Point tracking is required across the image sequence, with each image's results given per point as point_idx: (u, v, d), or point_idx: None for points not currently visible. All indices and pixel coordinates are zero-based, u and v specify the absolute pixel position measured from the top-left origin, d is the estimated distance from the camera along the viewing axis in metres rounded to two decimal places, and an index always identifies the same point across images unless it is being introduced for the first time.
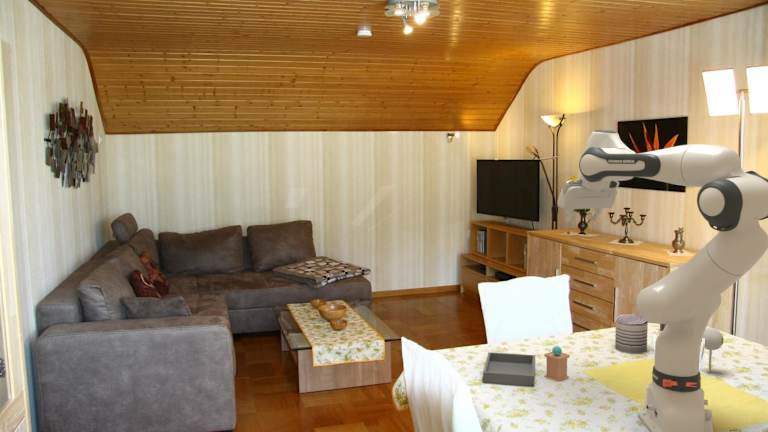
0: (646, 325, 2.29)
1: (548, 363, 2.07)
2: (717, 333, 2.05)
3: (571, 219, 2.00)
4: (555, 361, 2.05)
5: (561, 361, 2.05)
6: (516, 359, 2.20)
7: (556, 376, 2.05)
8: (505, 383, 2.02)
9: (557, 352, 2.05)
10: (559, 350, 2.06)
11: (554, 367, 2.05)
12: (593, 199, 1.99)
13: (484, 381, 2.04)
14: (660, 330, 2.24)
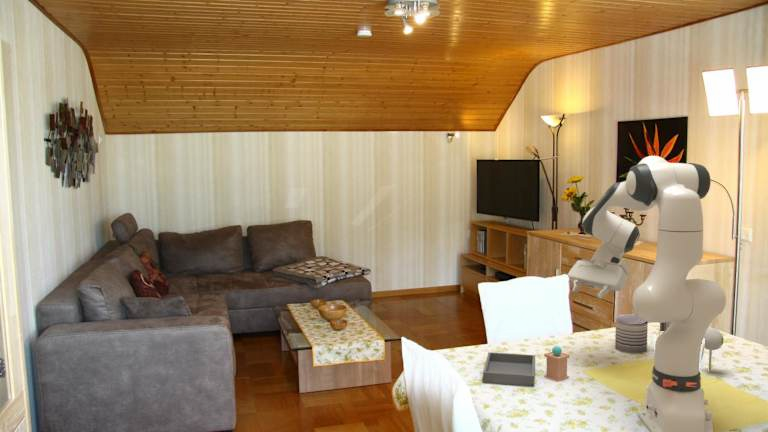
0: (646, 325, 2.29)
1: (548, 363, 2.07)
2: (717, 333, 2.05)
3: (574, 288, 2.17)
4: (555, 361, 2.05)
5: (561, 361, 2.05)
6: (516, 359, 2.20)
7: (556, 376, 2.05)
8: (505, 383, 2.02)
9: (557, 352, 2.05)
10: (559, 350, 2.06)
11: (554, 367, 2.05)
12: (597, 273, 2.14)
13: (484, 381, 2.04)
14: (660, 330, 2.24)
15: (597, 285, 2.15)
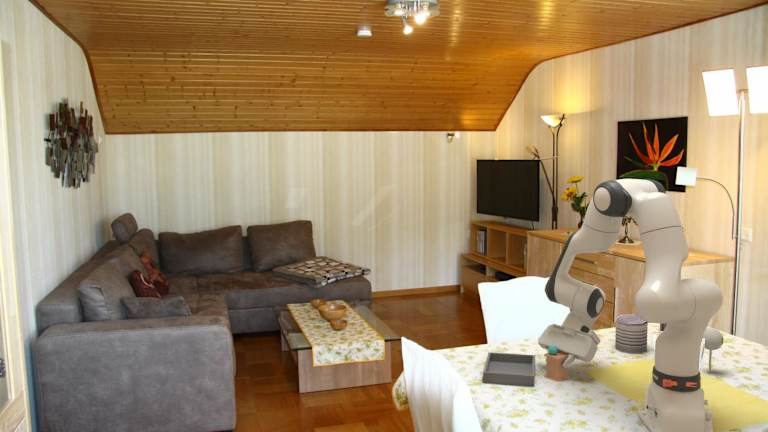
0: (646, 325, 2.29)
1: (548, 363, 2.07)
2: (717, 333, 2.05)
3: None
4: (555, 361, 2.05)
5: (561, 361, 2.05)
6: (516, 359, 2.20)
7: (556, 376, 2.05)
8: (505, 383, 2.02)
9: (552, 349, 2.06)
10: (553, 346, 2.07)
11: (554, 367, 2.05)
12: (567, 342, 2.08)
13: (484, 381, 2.04)
14: (660, 330, 2.24)
15: None
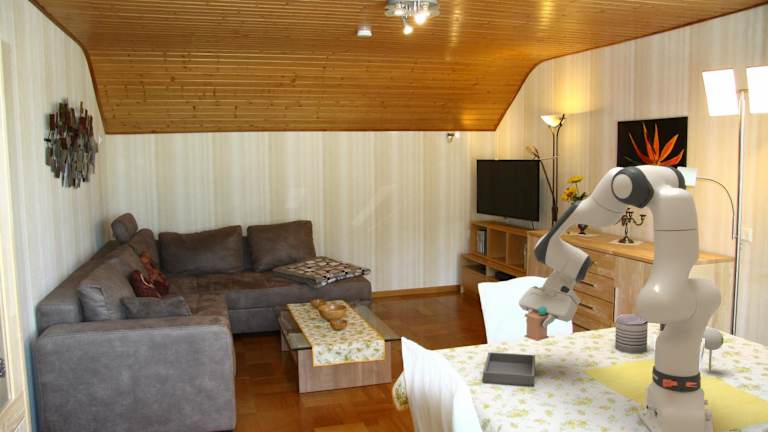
0: (646, 325, 2.29)
1: (528, 323, 2.08)
2: (717, 333, 2.05)
3: None
4: (535, 321, 2.05)
5: (541, 321, 2.05)
6: (516, 359, 2.20)
7: (536, 336, 2.05)
8: (505, 383, 2.02)
9: (544, 313, 2.06)
10: (546, 313, 2.06)
11: (534, 327, 2.06)
12: (547, 302, 2.08)
13: (484, 381, 2.04)
14: (660, 330, 2.24)
15: None
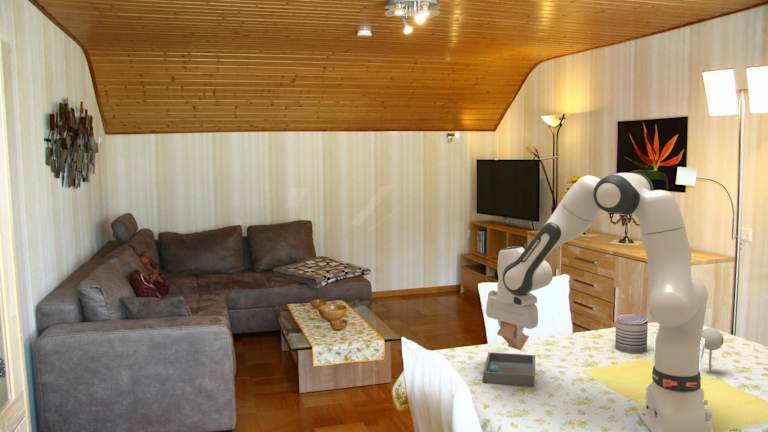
0: (646, 325, 2.29)
1: (504, 338, 2.11)
2: (717, 333, 2.05)
3: None
4: (508, 337, 2.08)
5: (513, 334, 2.08)
6: (516, 359, 2.20)
7: (517, 346, 2.10)
8: (505, 383, 2.02)
9: None
10: None
11: (511, 341, 2.09)
12: (509, 313, 2.07)
13: (484, 381, 2.04)
14: None
15: None
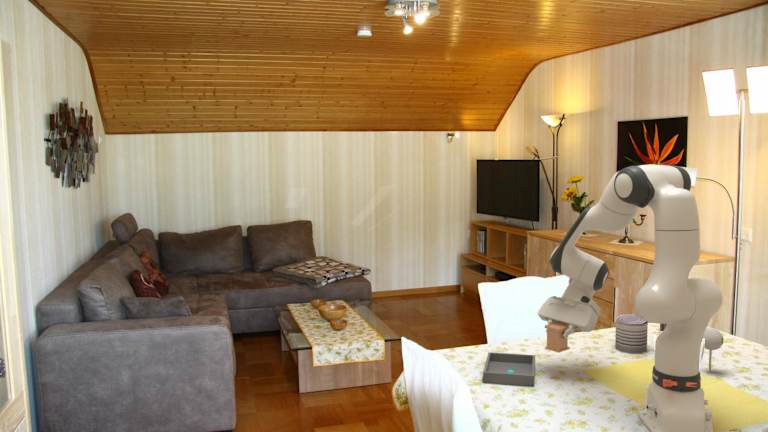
0: (646, 325, 2.29)
1: (548, 334, 2.06)
2: (717, 333, 2.05)
3: None
4: (555, 332, 2.04)
5: (561, 332, 2.04)
6: (516, 359, 2.20)
7: (557, 347, 2.04)
8: (505, 383, 2.02)
9: None
10: None
11: (554, 339, 2.04)
12: (567, 312, 2.07)
13: (484, 381, 2.04)
14: (660, 330, 2.24)
15: None
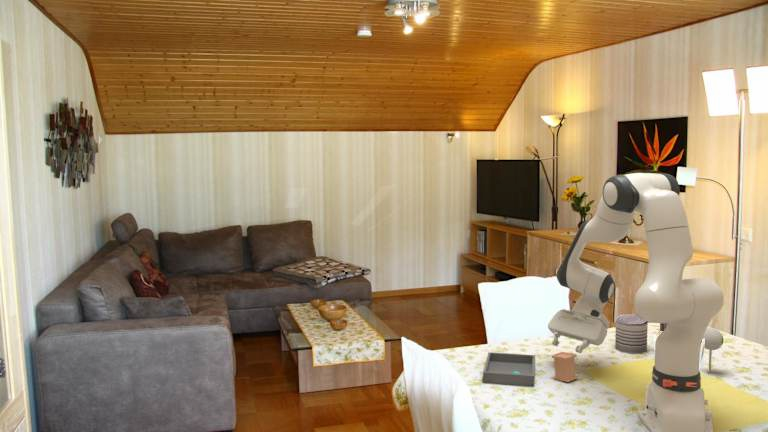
0: (646, 325, 2.29)
1: (556, 364, 2.05)
2: (717, 333, 2.05)
3: (554, 341, 2.13)
4: (563, 361, 2.03)
5: (569, 361, 2.03)
6: (516, 359, 2.20)
7: (565, 377, 2.03)
8: (505, 383, 2.02)
9: None
10: None
11: (562, 368, 2.04)
12: (577, 326, 2.10)
13: (484, 381, 2.04)
14: (660, 330, 2.24)
15: (577, 338, 2.11)
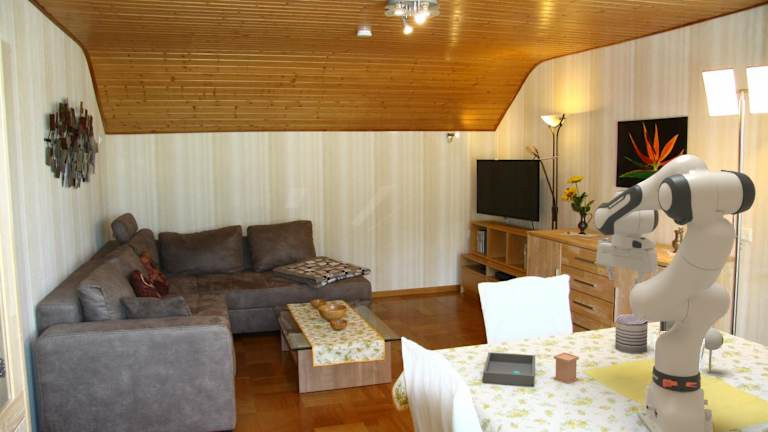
0: (646, 325, 2.29)
1: (557, 365, 2.05)
2: (717, 333, 2.05)
3: (610, 277, 2.08)
4: (565, 363, 2.03)
5: (571, 363, 2.03)
6: (516, 359, 2.20)
7: (566, 378, 2.03)
8: (505, 383, 2.02)
9: None
10: None
11: (564, 370, 2.03)
12: (625, 258, 2.02)
13: (484, 381, 2.04)
14: (660, 330, 2.24)
15: None
